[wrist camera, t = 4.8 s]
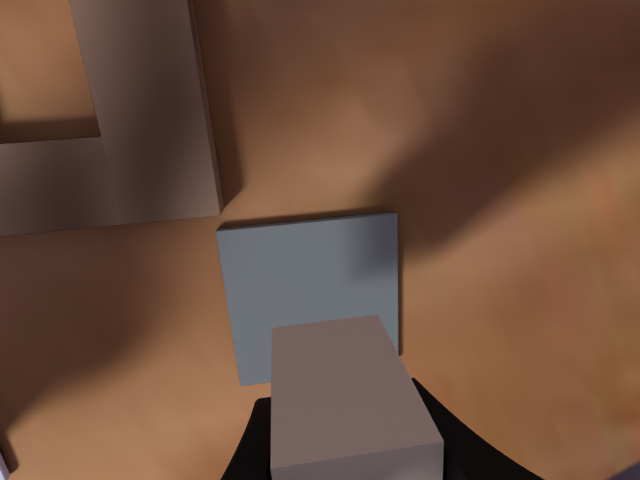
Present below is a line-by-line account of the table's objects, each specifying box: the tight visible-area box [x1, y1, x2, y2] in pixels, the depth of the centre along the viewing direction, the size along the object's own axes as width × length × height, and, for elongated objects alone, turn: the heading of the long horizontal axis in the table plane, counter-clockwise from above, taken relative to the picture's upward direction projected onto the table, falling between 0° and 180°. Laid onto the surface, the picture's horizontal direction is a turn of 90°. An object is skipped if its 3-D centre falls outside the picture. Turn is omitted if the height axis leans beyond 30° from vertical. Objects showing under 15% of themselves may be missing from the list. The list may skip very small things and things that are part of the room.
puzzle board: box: [0, 0, 224, 236], centre depth 15 cm, size 14×13×2 cm
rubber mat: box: [216, 212, 398, 386], centre depth 20 cm, size 9×9×1 cm
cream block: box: [270, 314, 444, 480], centre depth 12 cm, size 4×4×6 cm
